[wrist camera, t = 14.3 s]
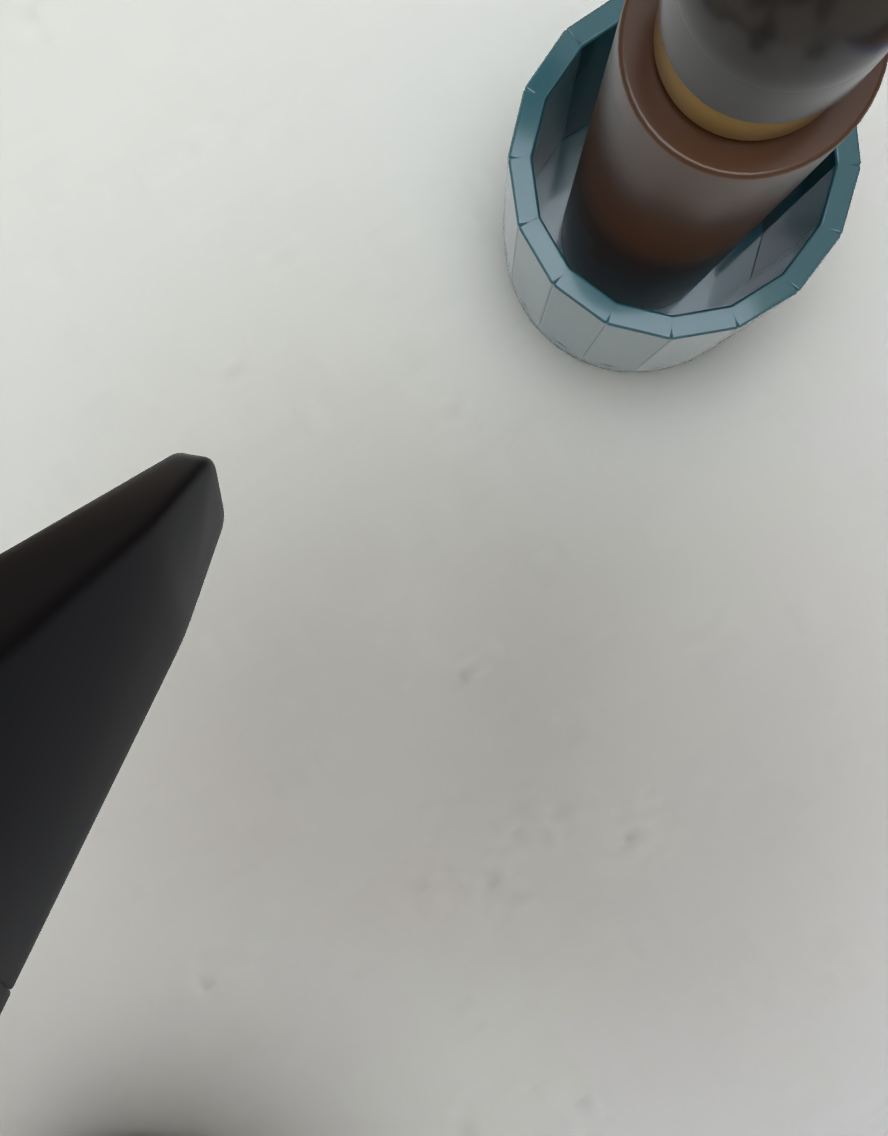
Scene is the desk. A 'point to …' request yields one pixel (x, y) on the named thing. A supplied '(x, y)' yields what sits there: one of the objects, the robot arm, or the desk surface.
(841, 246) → the desk surface
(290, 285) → the desk surface
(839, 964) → the desk surface
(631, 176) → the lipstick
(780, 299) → the cup
